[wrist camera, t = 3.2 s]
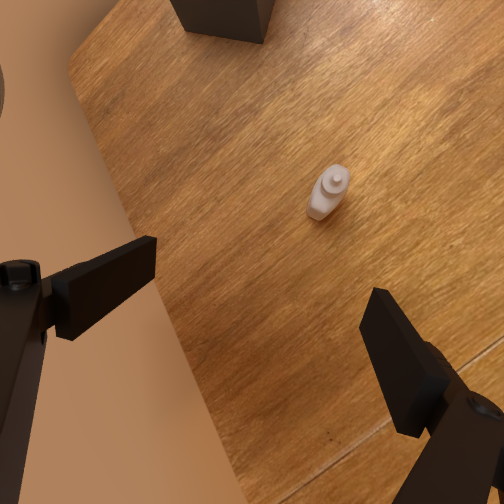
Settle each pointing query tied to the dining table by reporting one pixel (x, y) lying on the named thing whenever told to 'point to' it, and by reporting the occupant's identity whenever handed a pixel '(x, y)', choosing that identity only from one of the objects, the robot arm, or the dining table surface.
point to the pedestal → (226, 18)
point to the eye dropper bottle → (328, 191)
